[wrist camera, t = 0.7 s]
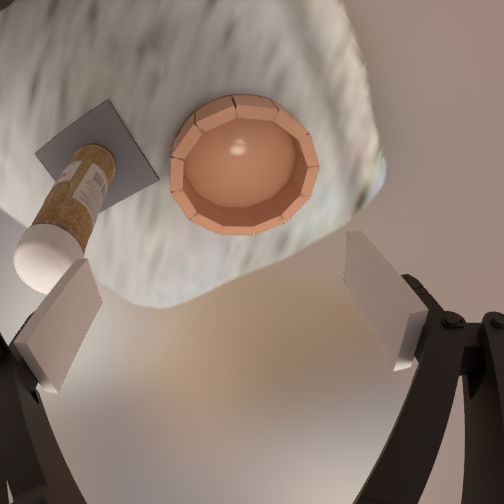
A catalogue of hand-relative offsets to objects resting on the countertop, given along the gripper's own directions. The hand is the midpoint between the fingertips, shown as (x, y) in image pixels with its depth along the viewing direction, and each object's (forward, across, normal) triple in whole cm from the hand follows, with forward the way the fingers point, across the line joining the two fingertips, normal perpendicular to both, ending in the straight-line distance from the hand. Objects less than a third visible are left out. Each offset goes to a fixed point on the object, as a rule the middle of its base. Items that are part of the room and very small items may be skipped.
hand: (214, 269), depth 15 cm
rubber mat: (+14, -11, +4) cm, 18 cm away
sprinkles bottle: (+14, -11, +4) cm, 18 cm away
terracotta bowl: (+15, +2, +3) cm, 16 cm away
